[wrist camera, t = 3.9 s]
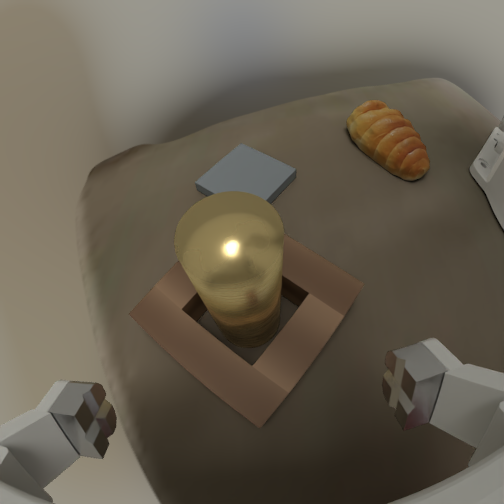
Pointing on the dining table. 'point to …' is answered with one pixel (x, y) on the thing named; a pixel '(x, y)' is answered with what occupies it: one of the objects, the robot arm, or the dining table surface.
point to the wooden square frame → (278, 352)
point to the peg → (235, 263)
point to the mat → (247, 174)
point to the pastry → (388, 139)
